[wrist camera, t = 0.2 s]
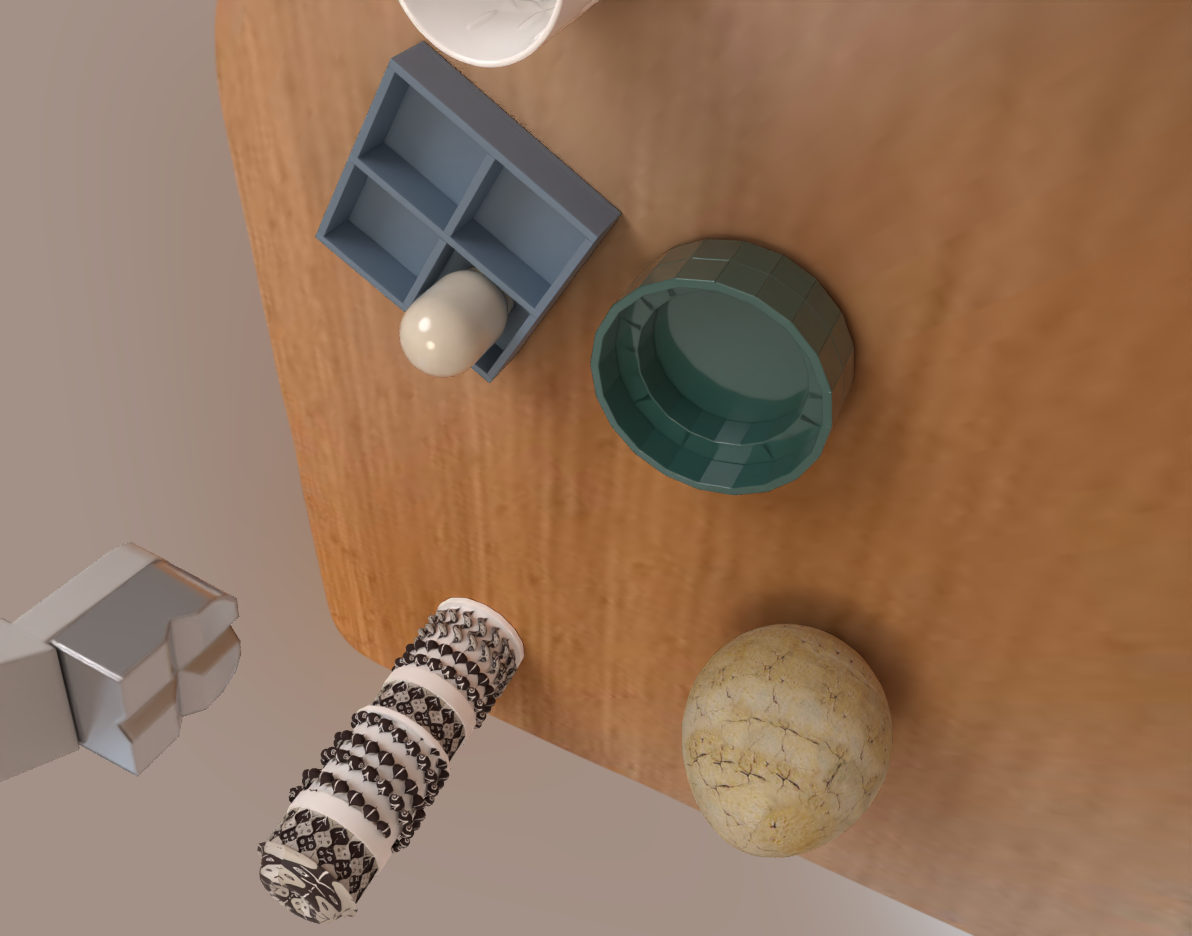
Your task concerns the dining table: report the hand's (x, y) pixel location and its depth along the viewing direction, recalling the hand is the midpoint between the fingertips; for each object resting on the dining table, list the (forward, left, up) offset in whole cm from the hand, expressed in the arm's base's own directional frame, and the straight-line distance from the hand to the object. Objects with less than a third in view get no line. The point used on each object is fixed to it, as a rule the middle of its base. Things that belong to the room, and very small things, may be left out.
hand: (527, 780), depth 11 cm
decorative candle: (+58, -20, -39) cm, 73 cm away
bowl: (+21, -6, -39) cm, 45 cm away
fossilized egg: (+42, +5, -39) cm, 58 cm away
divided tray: (+19, -22, -39) cm, 49 cm away
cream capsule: (+24, -21, -38) cm, 50 cm away
